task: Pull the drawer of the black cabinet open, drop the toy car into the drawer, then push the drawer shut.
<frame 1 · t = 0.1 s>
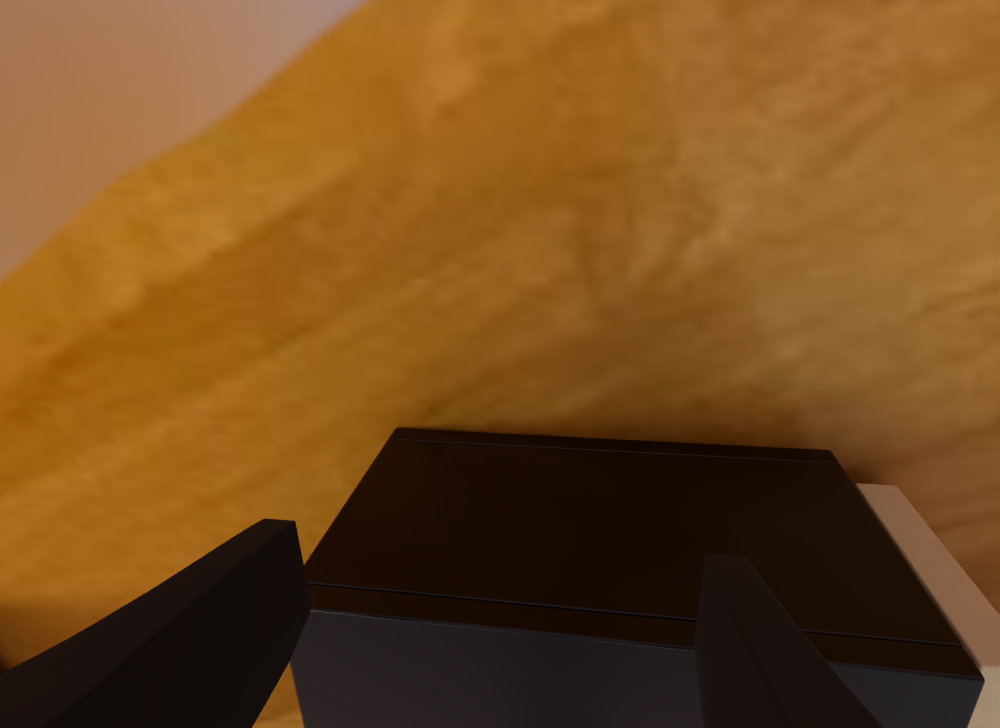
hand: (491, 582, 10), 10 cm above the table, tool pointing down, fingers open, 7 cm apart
drawer: (740, 697, 18), point 4 cm above the table, slide at 0.5 cm
black cabinet: (595, 583, 23), on the table
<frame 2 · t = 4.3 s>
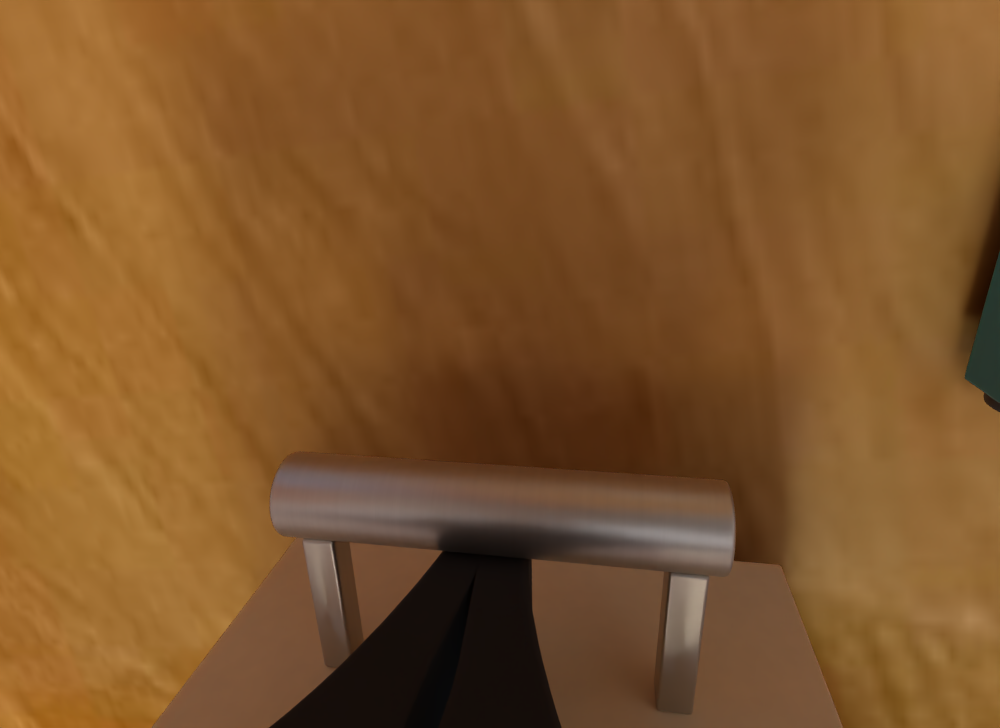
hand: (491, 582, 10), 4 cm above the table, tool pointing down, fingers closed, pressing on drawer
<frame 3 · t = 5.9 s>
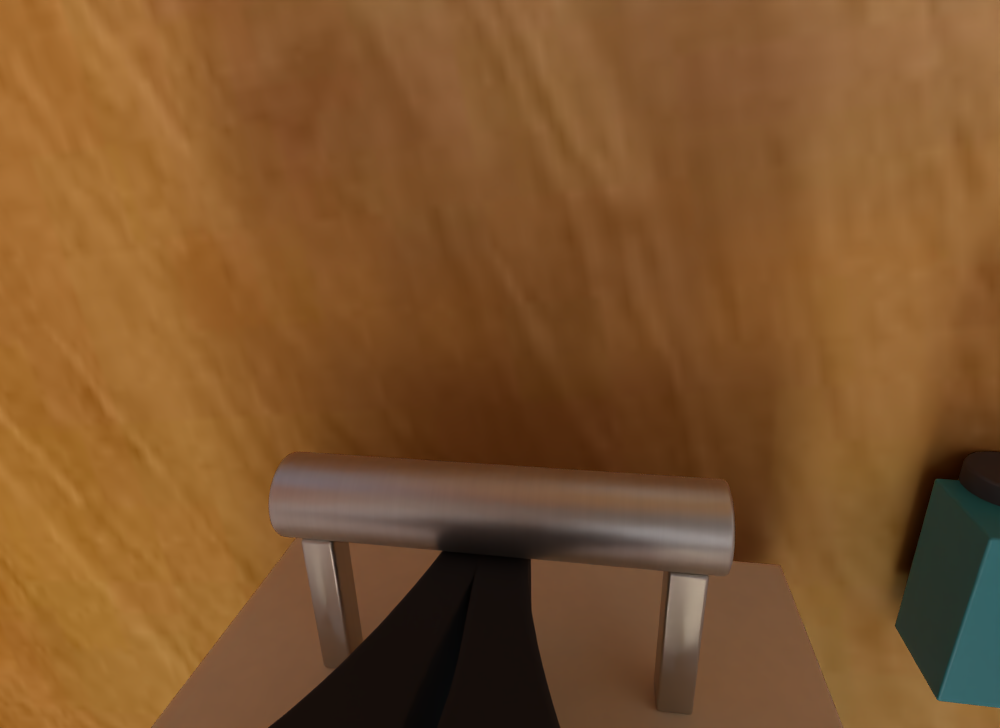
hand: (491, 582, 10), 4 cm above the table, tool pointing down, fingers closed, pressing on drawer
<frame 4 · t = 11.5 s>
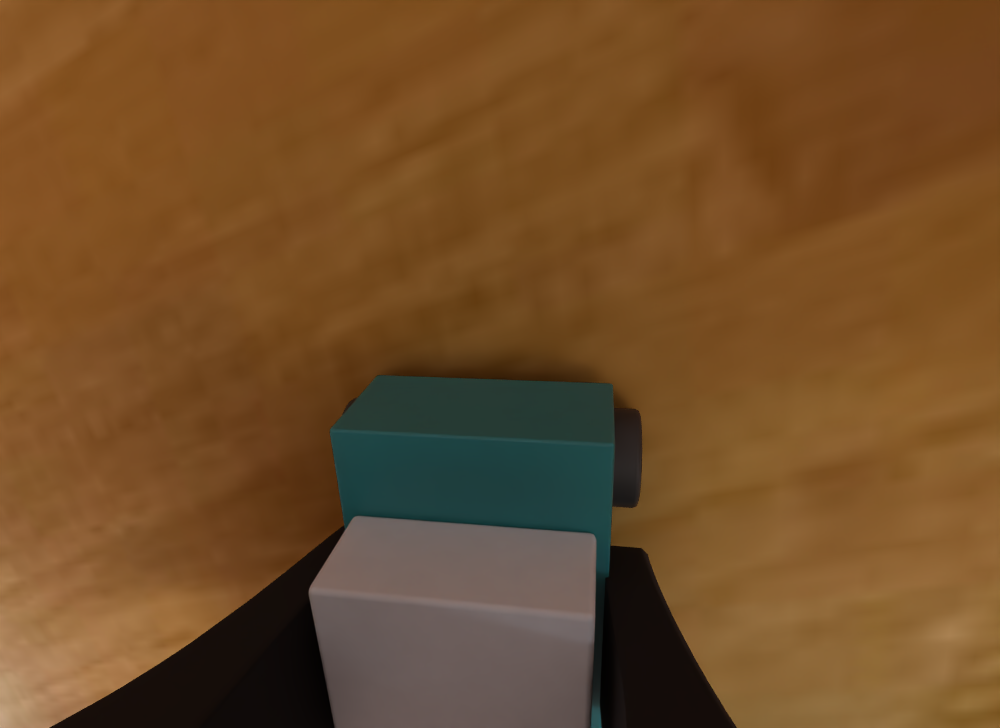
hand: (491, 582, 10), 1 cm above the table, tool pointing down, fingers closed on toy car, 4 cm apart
toy car: (502, 531, 12), on the table, touching gripper
when the fingers open (9 cm above the table, at t = 14.9 s): toy car drops 5 cm, resting on drawer.
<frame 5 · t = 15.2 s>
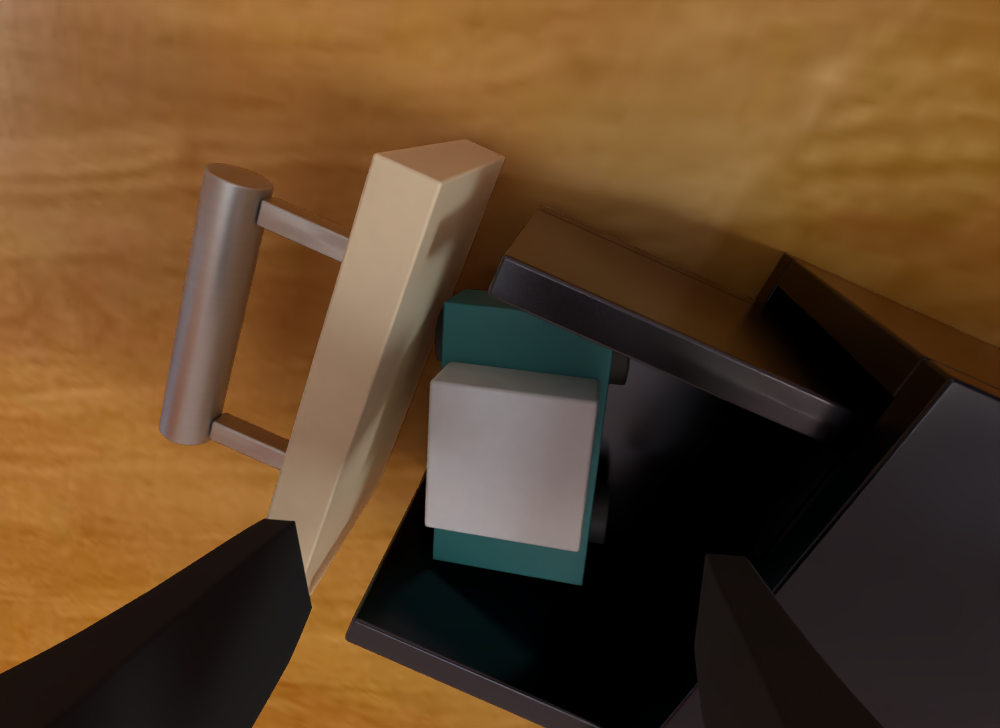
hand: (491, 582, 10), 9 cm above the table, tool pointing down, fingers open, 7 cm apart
toy car: (530, 414, 17), point 2 cm above the table, tilted 6°, touching drawer
drawer: (524, 443, 15), point 4 cm above the table, slide at 7.9 cm, touching toy car
black cabinet: (880, 526, 19), on the table
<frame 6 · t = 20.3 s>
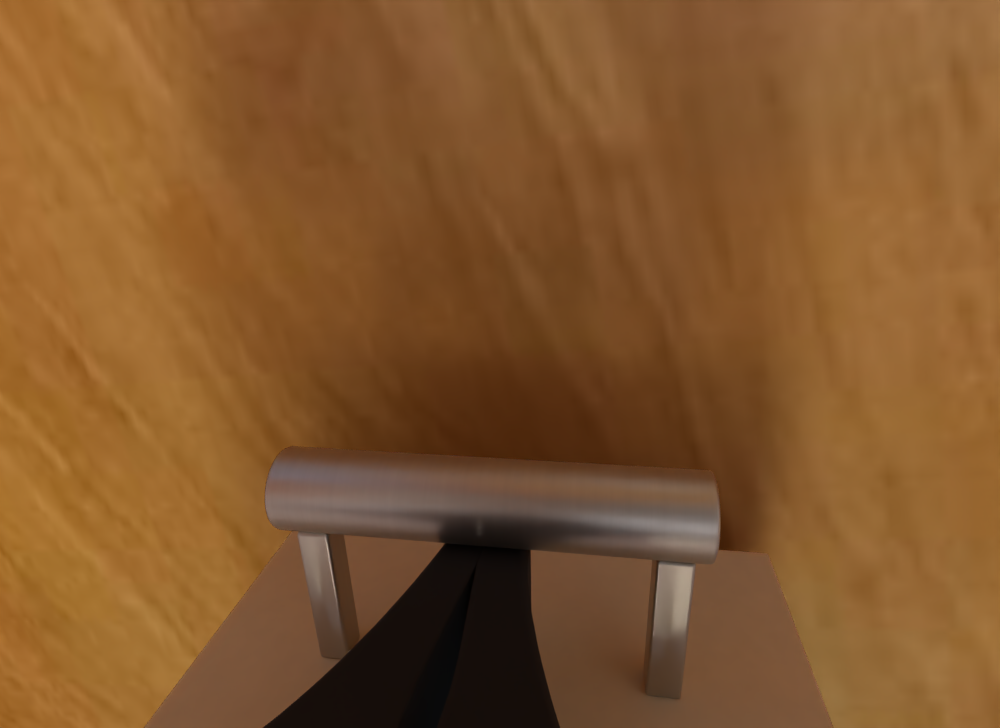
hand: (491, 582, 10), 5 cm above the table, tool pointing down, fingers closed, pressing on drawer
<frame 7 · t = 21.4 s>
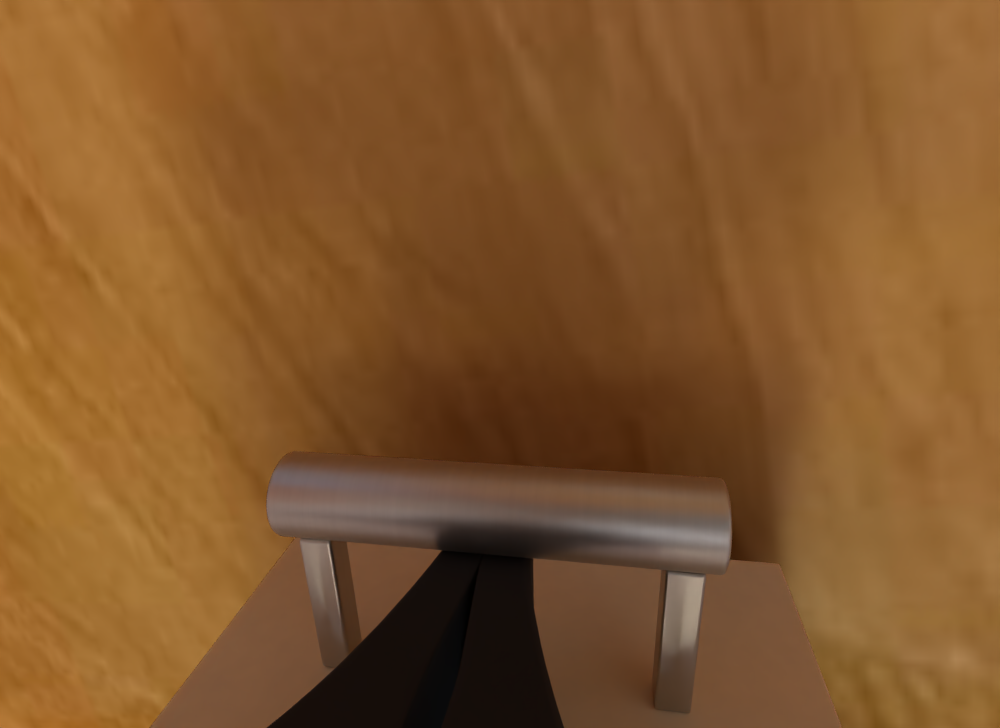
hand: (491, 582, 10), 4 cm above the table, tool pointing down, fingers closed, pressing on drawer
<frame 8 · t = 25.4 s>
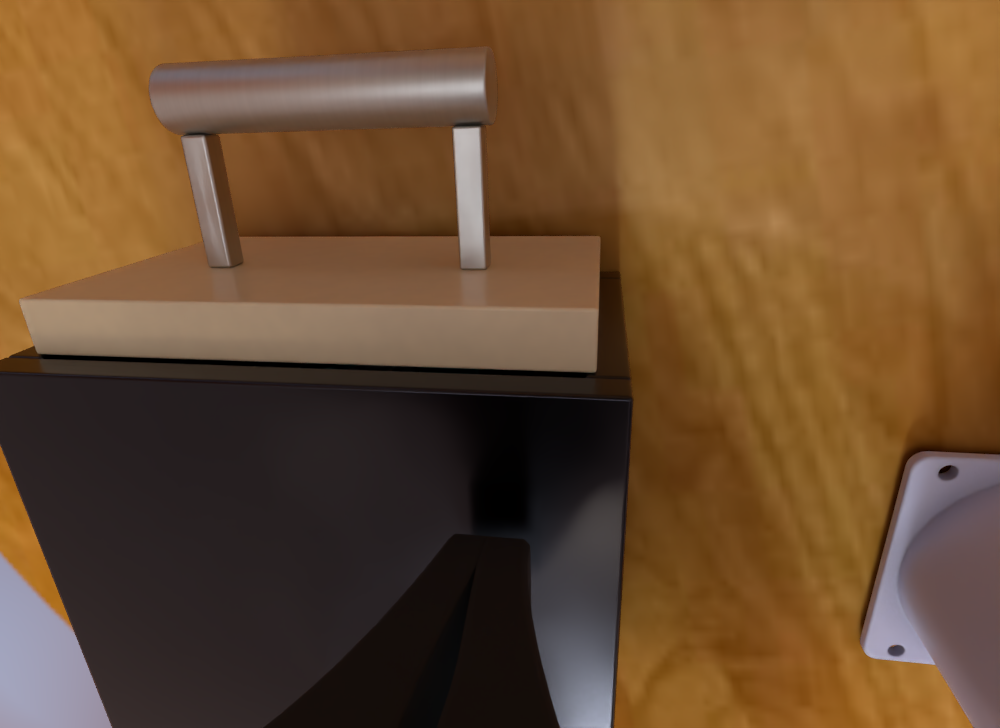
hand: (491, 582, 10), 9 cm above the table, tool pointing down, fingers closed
toy car: (394, 398, 18), point 2 cm above the table, touching drawer
drawer: (375, 434, 16), point 4 cm above the table, slide at 0.0 cm, touching black cabinet, toy car
black cabinet: (429, 472, 21), on the table
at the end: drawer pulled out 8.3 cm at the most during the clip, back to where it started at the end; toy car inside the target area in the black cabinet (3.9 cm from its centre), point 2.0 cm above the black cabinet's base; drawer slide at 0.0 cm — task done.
